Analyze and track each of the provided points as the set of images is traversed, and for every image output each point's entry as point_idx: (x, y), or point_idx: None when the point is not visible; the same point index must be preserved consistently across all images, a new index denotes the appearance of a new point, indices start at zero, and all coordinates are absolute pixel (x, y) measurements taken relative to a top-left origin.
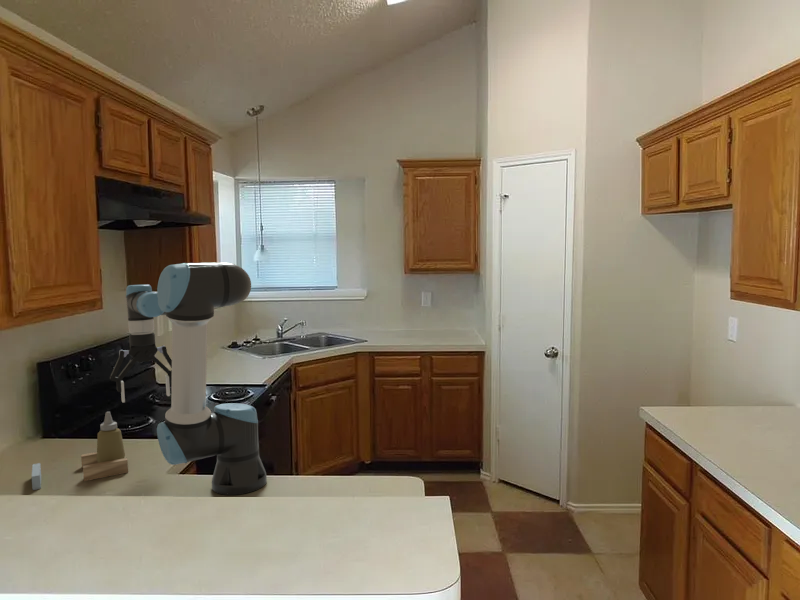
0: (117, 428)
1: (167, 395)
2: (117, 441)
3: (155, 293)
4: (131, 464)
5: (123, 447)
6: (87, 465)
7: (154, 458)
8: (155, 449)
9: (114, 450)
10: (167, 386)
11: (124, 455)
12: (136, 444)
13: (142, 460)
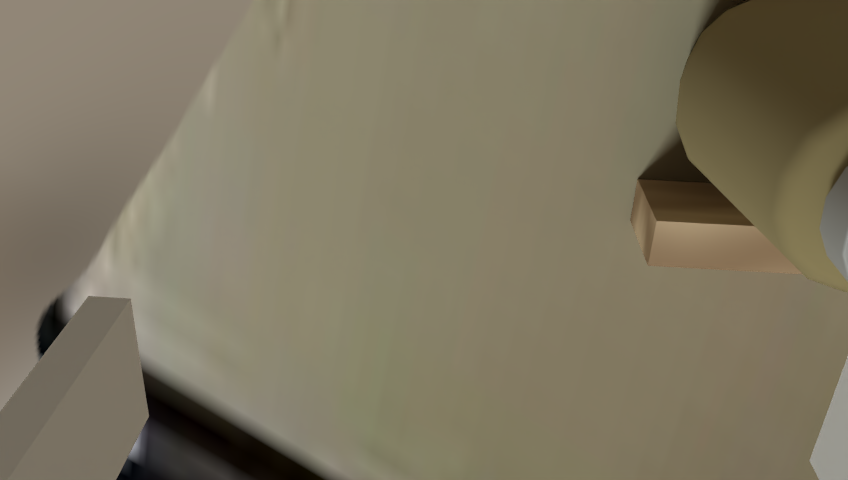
0: (804, 214)
1: (131, 331)
2: (812, 59)
3: None
4: (614, 66)
5: (710, 95)
6: None
7: (437, 96)
8: (392, 289)
9: (824, 15)
10: (39, 421)
11: (692, 59)
12: (480, 455)
13: (523, 107)
